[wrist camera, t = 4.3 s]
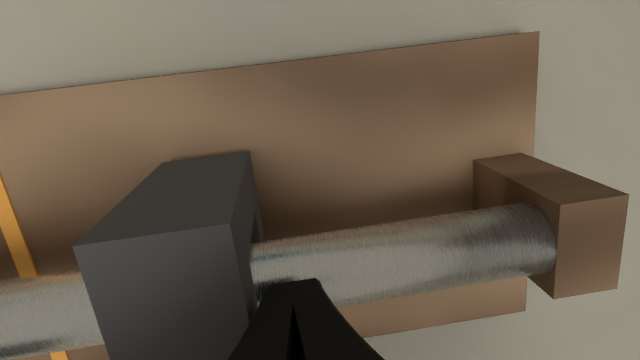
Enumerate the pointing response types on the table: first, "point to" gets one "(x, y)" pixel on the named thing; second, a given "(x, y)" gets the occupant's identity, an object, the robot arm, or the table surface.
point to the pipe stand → (315, 186)
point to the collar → (176, 262)
